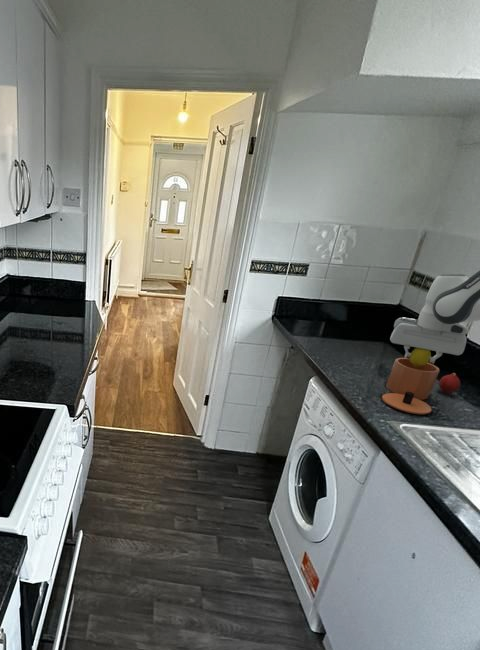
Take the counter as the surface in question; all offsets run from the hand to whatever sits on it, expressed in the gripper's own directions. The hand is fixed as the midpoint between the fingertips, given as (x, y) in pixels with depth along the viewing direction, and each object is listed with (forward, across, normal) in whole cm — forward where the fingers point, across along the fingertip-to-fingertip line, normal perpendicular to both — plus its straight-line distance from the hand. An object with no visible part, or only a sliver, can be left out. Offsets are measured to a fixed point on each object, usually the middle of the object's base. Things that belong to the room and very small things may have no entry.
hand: (418, 360), depth 144 cm
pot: (+12, 0, 0) cm, 12 cm away
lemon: (+3, 0, 0) cm, 3 cm away
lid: (+12, -1, -14) cm, 18 cm away
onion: (+12, +12, +8) cm, 19 cm away
